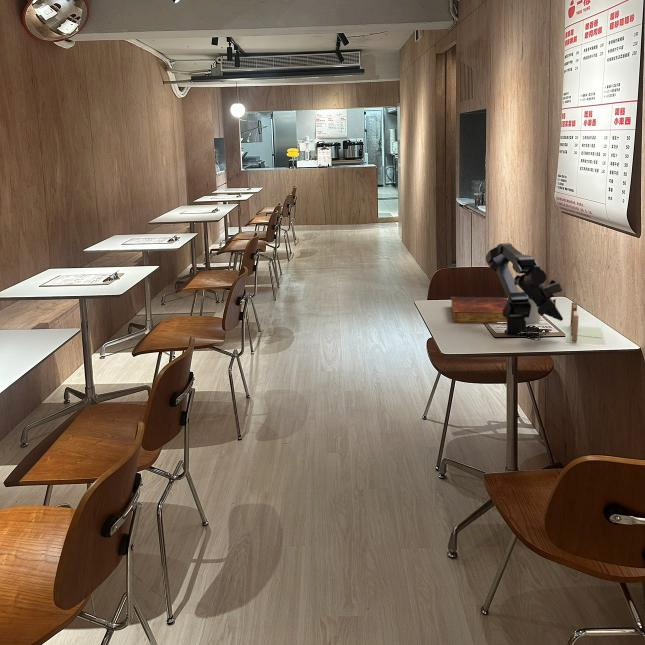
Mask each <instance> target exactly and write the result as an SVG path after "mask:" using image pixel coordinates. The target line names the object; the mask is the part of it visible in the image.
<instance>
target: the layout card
mask: <svg viewBox="0 0 645 645" xmlns="http://www.w3.org/2000/svg"><path fill="white" fill-rule="evenodd" d="M564 332H565V333H564V335H565V343H574V344H575V343H577V344H578V343H579V344H592V345H593V344H594V345H606V341H605V337H604V333H603V328H602V327H593V326H578V334H577V341H572V335H571V327H570V325H565V326H564Z"/></svg>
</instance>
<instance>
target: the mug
mask: <svg viewBox="0 0 645 645" xmlns="http://www.w3.org/2000/svg"><path fill="white" fill-rule="evenodd" d="M527 297H528V295H527ZM528 299H529V298H528ZM529 302H530V304H531V311H530V315H529V318H525V321H526V323H530V324H529V325H535V323H537V324H540V323H541V315H540V314H539V313H538V307H537V306H536V304H535V303H534V301H533V300H532V299H529ZM539 322H540V323H539Z"/></svg>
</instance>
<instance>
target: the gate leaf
mask: <svg viewBox="0 0 645 645" xmlns="http://www.w3.org/2000/svg"><path fill="white" fill-rule="evenodd" d="M579 318H580V316H579V314H578V311H574V315H573V330H572V341H577V334H578V327H579V320H580V319H579Z"/></svg>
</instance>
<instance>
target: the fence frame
mask: <svg viewBox="0 0 645 645" xmlns="http://www.w3.org/2000/svg"><path fill="white" fill-rule="evenodd" d="M577 310H578V302H575V301H572V302H571V311H570V312H571V313H570V324H569V326H570V327H571V335H572V330H573V315H574V311H577ZM577 312H578V311H577Z"/></svg>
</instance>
